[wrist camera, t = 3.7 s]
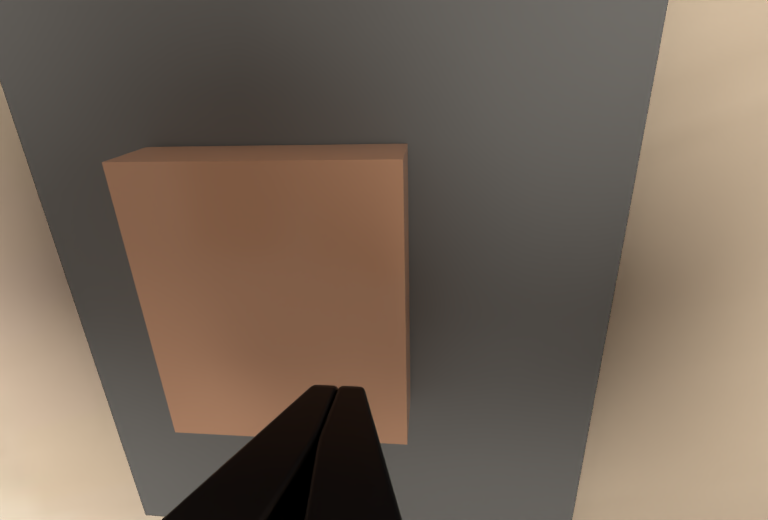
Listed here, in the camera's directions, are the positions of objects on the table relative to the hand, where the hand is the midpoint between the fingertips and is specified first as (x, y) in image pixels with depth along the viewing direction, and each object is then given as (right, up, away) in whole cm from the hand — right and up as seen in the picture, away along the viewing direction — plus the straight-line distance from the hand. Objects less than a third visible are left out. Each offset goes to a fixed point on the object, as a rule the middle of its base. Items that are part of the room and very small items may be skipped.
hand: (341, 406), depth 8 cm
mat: (-1, +1, +5) cm, 5 cm away
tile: (+1, +1, +3) cm, 4 cm away
